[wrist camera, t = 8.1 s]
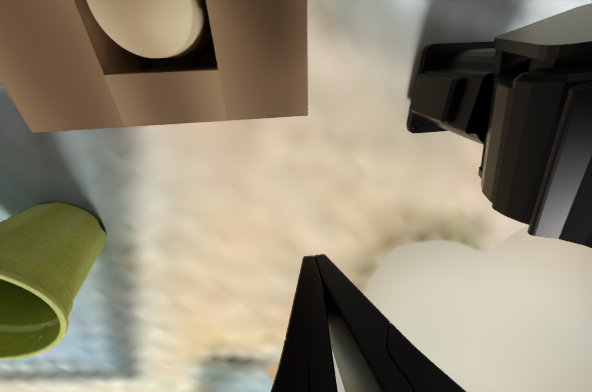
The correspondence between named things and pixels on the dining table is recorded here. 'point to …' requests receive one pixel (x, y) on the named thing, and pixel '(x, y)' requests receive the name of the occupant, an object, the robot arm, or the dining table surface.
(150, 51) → the peg
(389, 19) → the dining table surface
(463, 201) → the dining table surface
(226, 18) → the jig block
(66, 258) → the plant pot
